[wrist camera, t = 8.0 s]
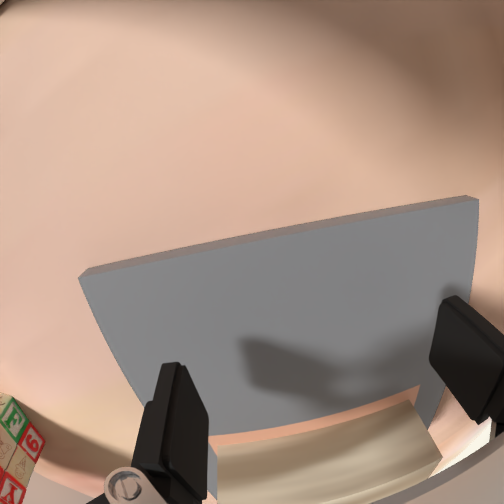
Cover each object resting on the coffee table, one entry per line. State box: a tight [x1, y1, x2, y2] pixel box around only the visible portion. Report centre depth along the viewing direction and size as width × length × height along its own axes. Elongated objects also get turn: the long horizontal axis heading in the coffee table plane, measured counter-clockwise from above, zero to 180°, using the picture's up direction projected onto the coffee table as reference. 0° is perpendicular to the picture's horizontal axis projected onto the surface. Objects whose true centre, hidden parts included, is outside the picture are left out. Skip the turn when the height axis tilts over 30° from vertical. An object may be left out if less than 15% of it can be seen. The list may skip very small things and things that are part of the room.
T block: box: [217, 400, 443, 504], centre depth 14 cm, size 12×12×5 cm
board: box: [78, 195, 479, 500], centre depth 15 cm, size 26×18×1 cm
